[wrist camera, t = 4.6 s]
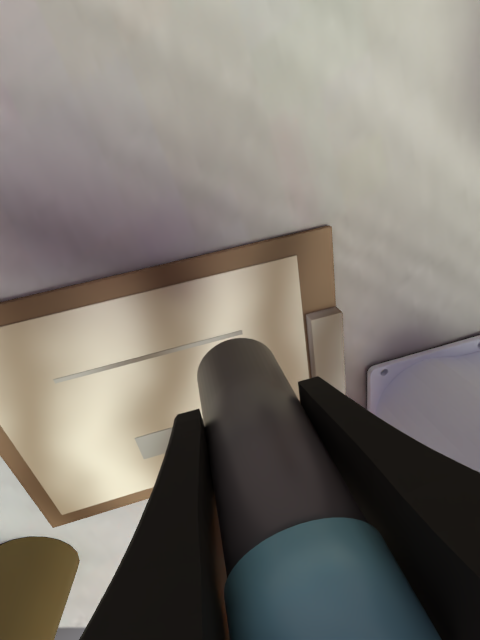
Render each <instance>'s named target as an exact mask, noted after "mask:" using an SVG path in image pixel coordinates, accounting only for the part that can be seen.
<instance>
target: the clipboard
mask: <svg viewBox="0 0 480 640" xmlns="http://www.w3.org/2000/svg"><path fill="white" fill-rule="evenodd" d="M234 338H249V339H254V340H257V341H259V342H261V343H263V344H264V345H266V346H267V347H268V348H269V349H270V350H271V352H272V353H273V355H274V357H275V359H276V360H277V362H278V364H279V366H280V367H281V369H282V371H283V373H284V375H285V376H286V378H287V380H288V382H289V383H290V385H291V387H292V389H293V391H294V392H295V394H296V396H297V398H298V399H299V401H300V397H299V388H298V382H299V381H302V380H306V379H310V378H313V377H317V376H319V377H320V378H322V379H323V380H325V381H326V382H328V383H329V384H330V385H332V386H333V387H335V388H336V389H337V390H339V391H340V392H342V393H343V394H344V395H346V388H345V363H344V339H343V314H342V311H340V310H339V309H338V308H337V307H336V302H335V283H334V263H333V243H332V227H331V226H324V227H319V228H315V229H311V230H307V231H302V232H298V233H294V234H289V235H285V236H281V237H277V238H272V239H268V240H264V241H260V242H255V243H251V244H247V245H243V246H238V247H234V248H230V249H225V250H221V251H217V252H213V253H208V254H204V255H200V256H196V257H191V258H187V259H183V260H179V261H174V262H170V263H166V264H161V265H157V266H153V267H149V268H144V269H140V270H136V271H132V272H127V273H123V274H119V275H115V276H110V277H106V278H102V279H97V280H93V281H89V282H85V283H80V284H76V285H72V286H68V287H63V288H59V289H55V290H51V291H46V292H42V293H38V294H33V295H29V296H25V297H21V298H16V299H12V300H8V301H4V302H0V456H1V457H2V458H3V460H4V461H5V462H6V464H7V465H8V467H9V468H10V469H11V471H12V472H13V473H14V475H15V476H16V478H17V479H18V480H19V482H20V483H21V484H22V486H23V487H24V489H25V490H26V491H27V493H28V494H29V495H30V497H31V498H32V500H33V501H34V502H35V504H36V505H37V507H38V508H39V509H40V511H41V512H42V513H43V515H44V516H45V518H46V519H47V520H48V522H49V523H50V524H51V526H52V527H53V528H54V527H57V526H61V525H64V524H67V523H70V522H74V521H77V520H80V519H83V518H87V517H90V516H93V515H96V514H100V513H103V512H106V511H109V510H113V509H116V508H119V507H122V506H126V505H129V504H132V503H135V502H139V501H142V500H145V499H148V498H150V495H151V493H152V490H153V487H154V485H155V482H156V479H157V476H158V473H159V471H160V468H161V465H162V462H163V459H164V456H165V453H166V449H167V446H168V443H169V439H170V435H171V432H172V427H173V423H174V419H175V417H176V416H177V414H181V413H185V412H188V411H192V410H196V409H200V413H201V416H202V420H203V415H202V408H201V402H200V395H199V389H198V382H197V371H198V367H199V365H200V362H201V360H202V359H203V357H204V356H205V355H206V353H207V352H208V351H209V350H210V349H212V348H213V347H214V346H216V345H218V344H219V343H221V342H224V341H226V340H230V339H234ZM203 423H204V422H203Z"/></svg>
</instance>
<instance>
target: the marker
mask: <svg viewBox="0 0 480 640" xmlns="http://www.w3.org/2000/svg"><path fill="white" fill-rule="evenodd" d="M197 382H198V389H199V395H200V402H201V408H202V415H203V422H204V426H205V432H206V439H207V445H208V452H209V459H210V468H211V474H212V481H213V488H214V494H215V501H216V507H217V514H218V521H219V527H220V534H221V541H222V547H223V554H224V560H225V567H226V574H227V580H226V583H225V587H224V600H225V607H226V615H227V622H228V629H229V636H230V640H442V639H441V638H440V636H439V634H438V633H437V631H436V629H435V627H434V626H433V624H432V622H431V620H430V619H429V617H428V615H427V614H426V612H425V610H424V608H423V607H422V605H421V603H420V601H419V600H418V598H417V596H416V595H415V593H414V591H413V589H412V588H411V586H410V584H409V582H408V581H407V579H406V577H405V576H404V574H403V572H402V570H401V569H400V567H399V565H398V563H397V562H396V560H395V558H394V556H393V555H392V553H391V551H390V550H389V548H388V546H387V544H386V543H385V541H384V539H383V537H382V536H381V534H380V533H379V531H378V530H377V529H376V528H375V527H373V526H372V525H370V524H369V523H368V522H367V521H366V519H365V517H364V515H363V513H362V512H361V510H360V508H359V506H358V505H357V503H356V501H355V499H354V497H353V496H352V494H351V492H350V490H349V488H348V487H347V485H346V483H345V481H344V480H343V478H342V476H341V474H340V472H339V471H338V469H337V467H336V465H335V464H334V462H333V460H332V458H331V456H330V455H329V453H328V451H327V449H326V448H325V446H324V444H323V442H322V440H321V439H320V437H319V435H318V433H317V432H316V430H315V428H314V426H313V424H312V423H311V421H310V419H309V417H308V415H307V414H306V412H305V410H304V408H303V407H302V405H301V403H300V401H299V399H298V398H297V396H296V394H295V392H294V391H293V389H292V387H291V385H290V383H289V382H288V380H287V378H286V376H285V375H284V373H283V371H282V369H281V367H280V366H279V364H278V362H277V360H276V359H275V357H274V355H273V353H272V352H271V350H270V349H269V348H268V347H267V346H266V345H264V344H263V343H261V342H259V341H257V340H254V339H249V338H234V339H230V340H226V341H224V342H221V343H219V344H218V345H216V346H214V347H213V348H212V349H210V350H209V351H208V352H207V353H206V355H205V356H204V357H203V359H202V360H201V362H200V365H199V367H198V371H197Z"/></svg>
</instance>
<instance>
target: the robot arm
mask: <svg viewBox="0 0 480 640" xmlns="http://www.w3.org/2000/svg"><path fill="white" fill-rule="evenodd" d="M382 370H383V371H382ZM381 371H382V372H381ZM298 388H299V397H300V403H301V405H302V407H303V408H304V410H305V412H306V414H307V415H308V417H309V419H310V421H311V423H312V424H313V426H314V428H315V430H316V432H317V433H318V435H319V437H320V439H321V440H322V442H323V444H324V446H325V448H326V449H327V451H328V453H329V455H330V456H331V458H332V460H333V462H334V464H335V465H336V467H337V469H338V471H339V472H340V474H341V476H342V478H343V480H344V481H345V483H346V485H347V487H348V488H349V490H350V492H351V494H352V496H353V497H354V499H355V501H356V503H357V505H358V506H359V508H360V510H361V512H362V513H363V515H364V517H365V519H366V521H367V522H368V523H369V524H370V525H372V526H373V527H375V528H376V529H377V530H378V531H379V533H380V534H381V536H382V537H383V539H384V541H385V543H386V544H387V546H388V548H389V550H390V551H391V553H392V555H393V556H394V558H395V560H396V562H397V563H398V565H399V567H400V569H401V570H402V572H403V574H404V576H405V577H406V579H407V581H408V582H409V584H410V586H411V588H412V589H413V591H414V593H415V595H416V596H417V598H418V600H419V601H420V603H421V605H422V607H423V608H424V610H425V612H426V614H427V615H428V617H429V619H430V620H431V622H432V624H433V626H434V627H435V629H436V631H437V633H438V634H439V636H440V638H441V639H442V640H480V335H478V336H475V337H471V338H468V339H464V340H461V341H457V342H454V343H450V344H447V345H443V346H440V347H436V348H433V349H429V350H426V351H422V352H419V353H415V354H412V355H408V356H405V357H401V358H398V359H394V360H391V361H387V362H384V363H380V364H377V365H374V366H372V367H370V368H369V370H368V372H367V410H366V409H365V408H363V407H362V406H360V405H359V404H357V403H356V402H355V401H353V400H352V399H350V398H349V397H347V396H346V395H344V394H343V393H342V392H340V391H339V390H337V389H336V388H335V387H333V386H332V385H330V384H329V383H328V382H326V381H325V380H323V379H322V378H320V377H319V376H317V377H313V378H310V379H306V380H302V381H299V382H298ZM226 580H227V574H226V567H225V560H224V554H223V547H222V541H221V534H220V527H219V521H218V514H217V507H216V501H215V494H214V488H213V481H212V474H211V468H210V459H209V452H208V445H207V439H206V432H205V426H204V423H203V420H202V416H201V413H200V409H196V410H192V411H188V412H185V413H181V414H177V416H176V417H175V419H174V423H173V427H172V432H171V435H170V439H169V443H168V446H167V449H166V453H165V456H164V459H163V462H162V465H161V468H160V471H159V473H158V476H157V479H156V482H155V485H154V487H153V490H152V493H151V495H150V498H149V500H148V502H147V505H146V507H145V510H144V512H143V515H142V517H141V519H140V522H139V524H138V527H137V529H136V531H135V533H134V535H133V538H132V540H131V542H130V544H129V546H128V548H127V551H126V553H125V555H124V557H123V559H122V561H121V563H120V565H119V567H118V569H117V571H116V573H115V575H114V577H113V579H112V581H111V583H110V584H109V586H108V588H107V590H106V592H105V594H104V596H103V598H102V599H101V601H100V603H99V605H98V607H97V609H96V611H95V612H94V614H93V616H92V618H91V620H90V621H89V623H88V625H87V627H86V629H85V630H84V632H83V634H82V636H81V637H80V639H79V640H230V636H229V629H228V622H227V615H226V607H225V600H224V587H225V583H226Z"/></svg>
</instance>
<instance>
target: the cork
mask: <svg viewBox="0 0 480 640" xmlns="http://www.w3.org/2000/svg"><path fill="white" fill-rule="evenodd" d="M79 561H80V560H79V557H78V554H77V552H76V551H75V550H74V549H73V548H72V547H71V546H70V545H68V544H66V543H64V542H62V541H60V540H56V539H52V538H47V537H26V538H20V539H15V540H11V541H9V542H6V543H4V544H1V545H0V640H54V638H55V635H56V632H57V629H58V626H59V623H60V620H61V617H62V614H63V611H64V608H65V605H66V602H67V599H68V596H69V593H70V590H71V587H72V584H73V581H74V578H75V575H76V572H77V569H78V565H79Z"/></svg>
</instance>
